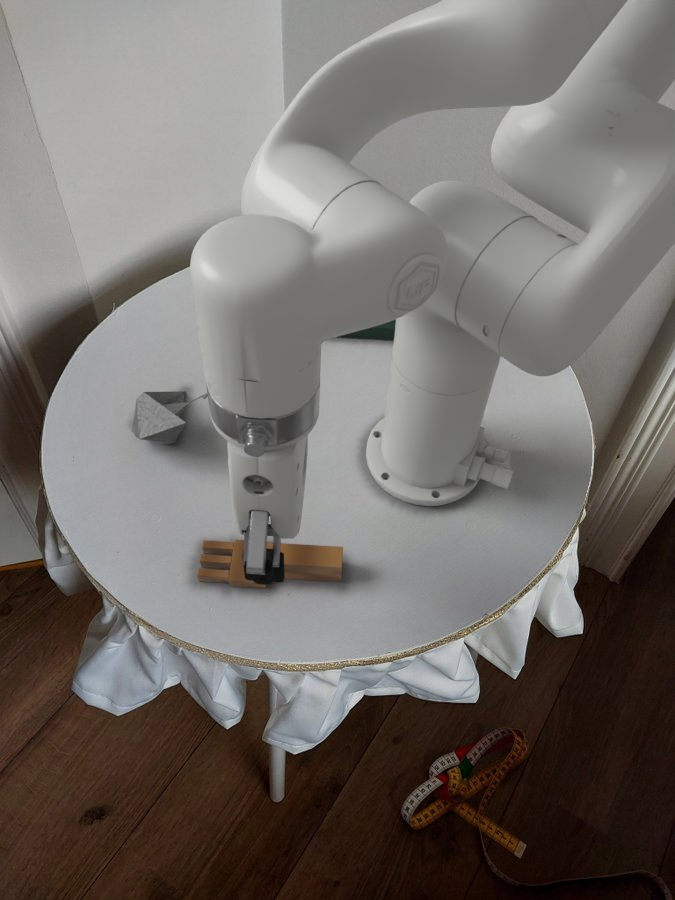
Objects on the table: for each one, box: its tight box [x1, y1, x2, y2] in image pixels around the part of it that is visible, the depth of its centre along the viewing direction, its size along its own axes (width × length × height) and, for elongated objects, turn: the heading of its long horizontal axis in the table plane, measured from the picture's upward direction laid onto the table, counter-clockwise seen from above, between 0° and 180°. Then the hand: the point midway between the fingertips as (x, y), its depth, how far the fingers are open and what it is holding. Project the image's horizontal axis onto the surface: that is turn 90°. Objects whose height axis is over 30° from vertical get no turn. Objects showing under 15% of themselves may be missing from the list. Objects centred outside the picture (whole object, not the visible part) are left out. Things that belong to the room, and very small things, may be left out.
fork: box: [196, 539, 344, 589], centre depth 68 cm, size 14×4×3 cm, turn 87°
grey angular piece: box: [131, 391, 208, 445], centre depth 77 cm, size 12×6×9 cm
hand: (271, 527), depth 63 cm, fingers open, 9 cm apart
